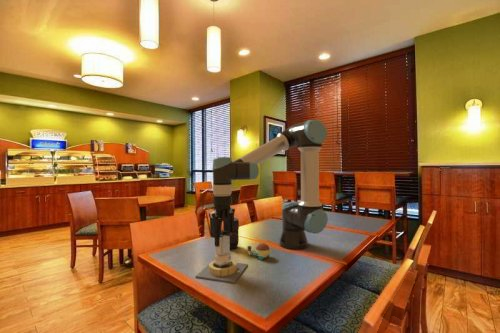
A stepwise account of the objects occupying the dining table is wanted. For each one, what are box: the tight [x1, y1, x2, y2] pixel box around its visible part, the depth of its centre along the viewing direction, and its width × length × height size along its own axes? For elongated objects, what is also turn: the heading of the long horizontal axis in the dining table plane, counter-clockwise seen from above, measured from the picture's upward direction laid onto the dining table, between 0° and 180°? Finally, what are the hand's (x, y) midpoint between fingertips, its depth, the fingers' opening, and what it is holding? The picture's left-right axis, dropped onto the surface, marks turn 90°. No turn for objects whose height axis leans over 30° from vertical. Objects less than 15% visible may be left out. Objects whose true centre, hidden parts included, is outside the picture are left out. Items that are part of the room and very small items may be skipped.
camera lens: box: [222, 217, 240, 251], centre depth 123 cm, size 8×8×15 cm
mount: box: [195, 259, 248, 284], centre depth 96 cm, size 16×16×3 cm
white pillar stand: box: [214, 229, 232, 268], centre depth 96 cm, size 6×9×14 cm
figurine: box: [247, 242, 271, 261], centre depth 111 cm, size 7×10×7 cm
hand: (222, 252), depth 96 cm, fingers closed on white pillar stand, 4 cm apart
